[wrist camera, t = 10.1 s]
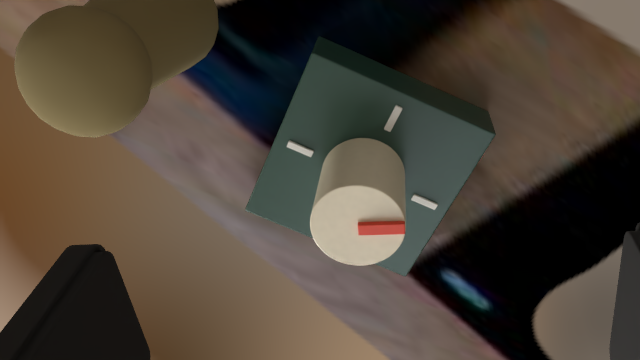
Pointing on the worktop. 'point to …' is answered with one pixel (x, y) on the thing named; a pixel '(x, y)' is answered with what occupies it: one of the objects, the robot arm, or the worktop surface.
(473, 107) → the panel
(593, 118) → the worktop surface
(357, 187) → the grip knob
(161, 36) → the cork
